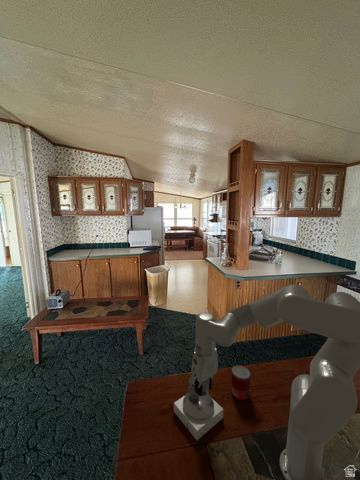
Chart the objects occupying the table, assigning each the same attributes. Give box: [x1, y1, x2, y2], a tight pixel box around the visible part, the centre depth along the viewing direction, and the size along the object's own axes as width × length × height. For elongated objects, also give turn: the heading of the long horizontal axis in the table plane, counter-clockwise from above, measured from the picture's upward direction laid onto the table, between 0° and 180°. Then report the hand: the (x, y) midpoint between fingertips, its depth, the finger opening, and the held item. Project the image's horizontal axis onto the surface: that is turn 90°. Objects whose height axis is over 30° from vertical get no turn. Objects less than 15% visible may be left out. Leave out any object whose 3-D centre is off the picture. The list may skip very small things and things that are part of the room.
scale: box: [173, 395, 224, 441], centre depth 85 cm, size 14×14×4 cm
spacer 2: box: [201, 378, 210, 396], centre depth 81 cm, size 4×4×6 cm
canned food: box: [230, 365, 251, 401], centre depth 95 cm, size 8×8×11 cm
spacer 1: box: [188, 382, 199, 403], centre depth 86 cm, size 4×4×6 cm
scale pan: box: [183, 391, 214, 420], centre depth 85 cm, size 12×12×1 cm
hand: (203, 389), depth 81 cm, fingers closed on spacer 2, 4 cm apart
